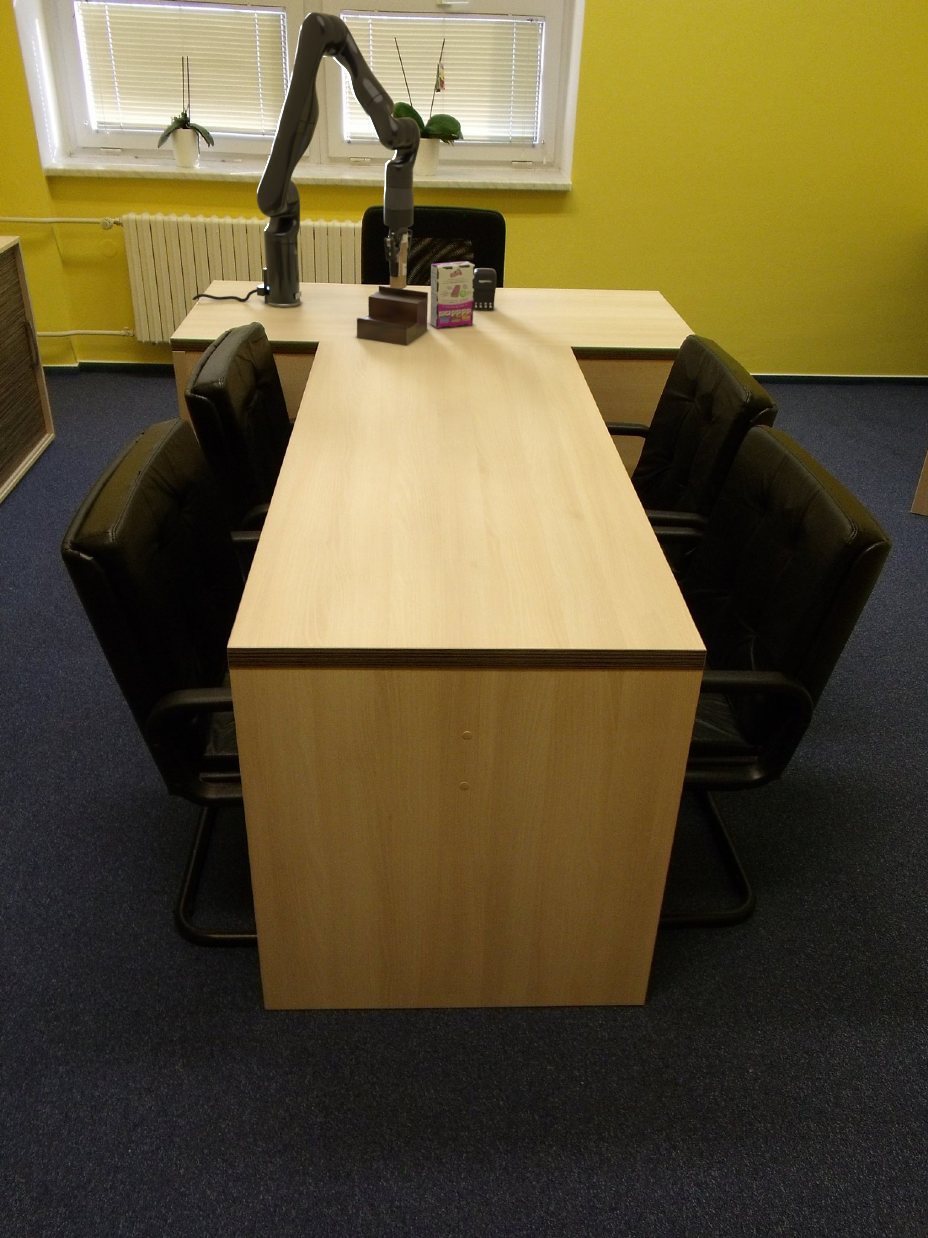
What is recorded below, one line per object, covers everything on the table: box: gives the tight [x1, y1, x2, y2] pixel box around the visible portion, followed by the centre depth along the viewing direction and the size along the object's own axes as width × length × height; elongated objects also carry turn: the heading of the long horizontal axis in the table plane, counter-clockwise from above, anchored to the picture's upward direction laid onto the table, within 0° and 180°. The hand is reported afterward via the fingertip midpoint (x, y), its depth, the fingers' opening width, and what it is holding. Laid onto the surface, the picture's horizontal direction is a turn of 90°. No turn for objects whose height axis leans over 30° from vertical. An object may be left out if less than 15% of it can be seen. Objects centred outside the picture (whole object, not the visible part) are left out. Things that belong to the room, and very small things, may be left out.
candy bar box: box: [429, 260, 476, 330], centre depth 275 cm, size 11×5×16 cm, turn 115°
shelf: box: [356, 285, 429, 346], centre depth 267 cm, size 14×15×10 cm
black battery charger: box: [473, 267, 498, 311], centre depth 291 cm, size 7×4×11 cm, turn 95°
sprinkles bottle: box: [389, 234, 408, 289], centre depth 263 cm, size 5×5×14 cm
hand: (397, 273), depth 265 cm, fingers closed on sprinkles bottle, 4 cm apart
